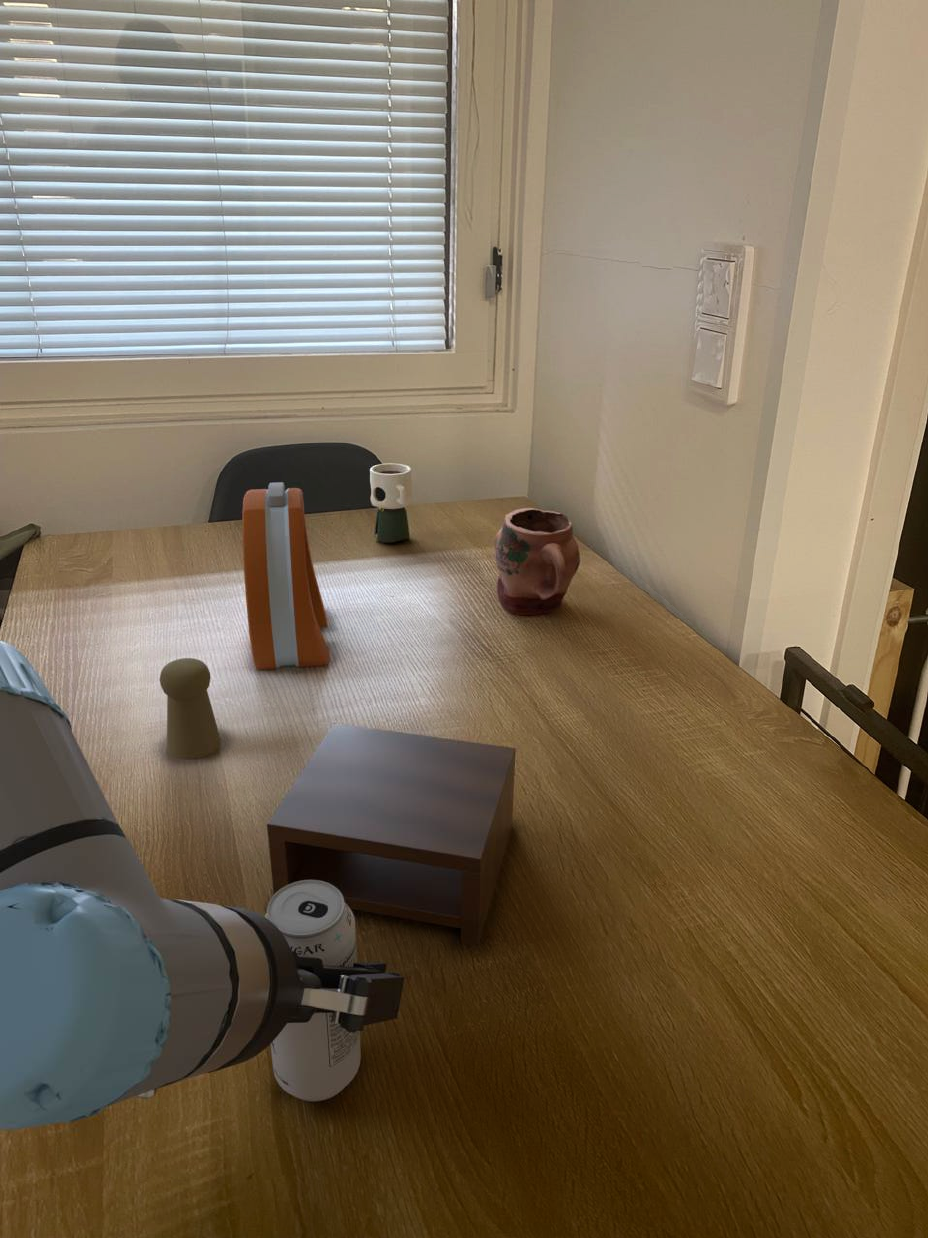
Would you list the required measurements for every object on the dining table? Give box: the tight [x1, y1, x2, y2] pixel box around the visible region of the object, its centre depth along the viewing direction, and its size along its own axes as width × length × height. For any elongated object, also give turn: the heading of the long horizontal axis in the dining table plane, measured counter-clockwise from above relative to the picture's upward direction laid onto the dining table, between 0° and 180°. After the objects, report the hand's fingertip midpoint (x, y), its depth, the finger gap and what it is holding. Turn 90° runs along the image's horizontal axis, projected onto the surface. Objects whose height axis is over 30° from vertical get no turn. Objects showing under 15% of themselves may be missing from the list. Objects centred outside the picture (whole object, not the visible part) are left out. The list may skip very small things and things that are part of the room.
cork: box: [159, 657, 222, 760], centre depth 99 cm, size 6×6×11 cm
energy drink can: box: [263, 880, 362, 1102], centre depth 60 cm, size 6×6×15 cm
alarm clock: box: [241, 481, 331, 671], centre depth 120 cm, size 22×10×23 cm, turn 9°
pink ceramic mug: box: [493, 507, 581, 616], centre depth 134 cm, size 20×12×14 cm, turn 22°
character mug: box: [369, 462, 413, 543], centre depth 159 cm, size 11×7×13 cm, turn 28°
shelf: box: [266, 722, 517, 947], centre depth 82 cm, size 16×18×10 cm
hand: (332, 973), depth 64 cm, fingers closed on energy drink can, 6 cm apart
